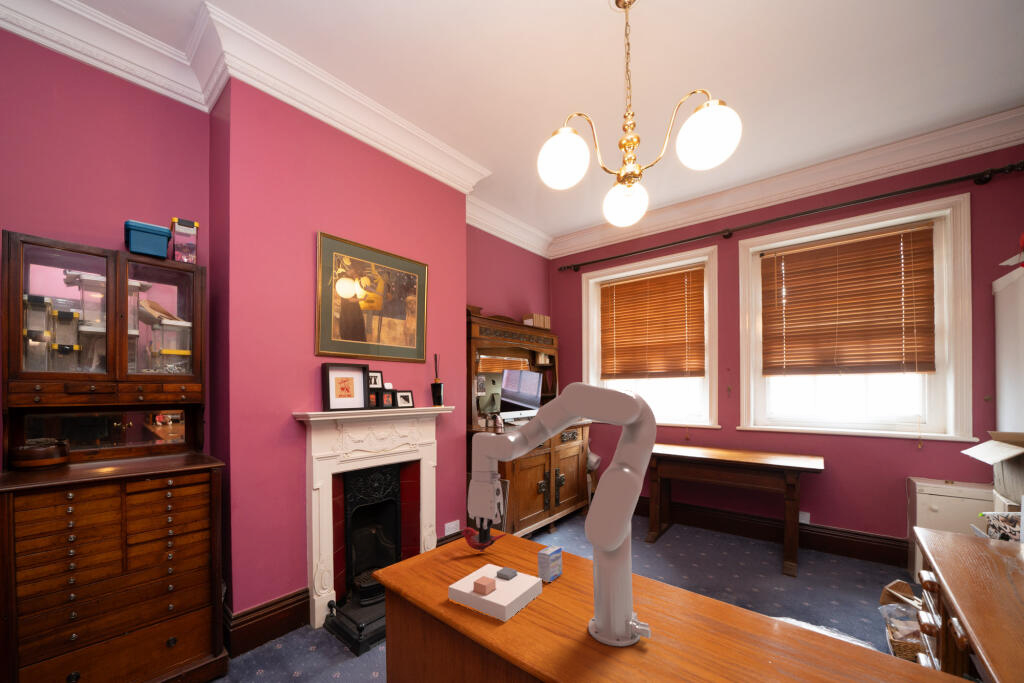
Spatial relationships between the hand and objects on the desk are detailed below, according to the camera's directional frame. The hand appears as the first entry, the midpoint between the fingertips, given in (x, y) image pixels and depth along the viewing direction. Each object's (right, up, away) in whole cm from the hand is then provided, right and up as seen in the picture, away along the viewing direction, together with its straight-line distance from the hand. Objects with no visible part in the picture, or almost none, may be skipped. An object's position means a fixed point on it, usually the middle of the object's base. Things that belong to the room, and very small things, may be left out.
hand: (484, 541), depth 118 cm
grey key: (+6, -15, +7) cm, 18 cm away
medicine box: (+20, -19, +15) cm, 32 cm away
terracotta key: (0, -13, -2) cm, 13 cm away
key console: (+3, -17, +2) cm, 18 cm away
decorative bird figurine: (-2, -22, +35) cm, 41 cm away
